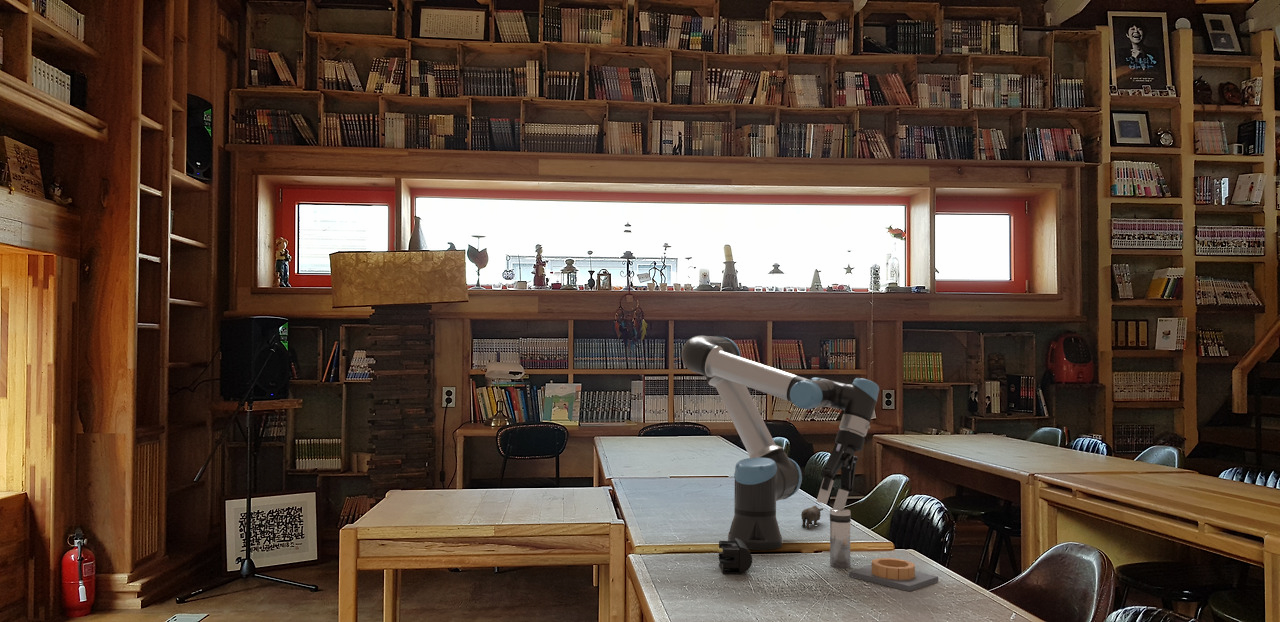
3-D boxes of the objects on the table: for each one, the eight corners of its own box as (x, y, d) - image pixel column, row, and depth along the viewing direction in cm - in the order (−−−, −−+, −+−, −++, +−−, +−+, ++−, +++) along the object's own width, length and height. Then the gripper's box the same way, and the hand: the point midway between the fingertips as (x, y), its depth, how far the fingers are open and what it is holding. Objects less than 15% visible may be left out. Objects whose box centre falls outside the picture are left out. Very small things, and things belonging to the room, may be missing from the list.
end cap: (752, 575, 194) (752, 547, 195) (723, 575, 194) (723, 547, 195) (746, 565, 204) (746, 538, 205) (718, 564, 204) (718, 537, 205)
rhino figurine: (827, 522, 259) (827, 503, 259) (811, 530, 248) (811, 510, 248) (814, 521, 261) (815, 502, 262) (798, 528, 250) (798, 508, 250)
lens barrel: (825, 565, 205) (825, 509, 206) (837, 562, 208) (837, 507, 209) (842, 569, 201) (843, 512, 202) (854, 566, 204) (854, 510, 205)
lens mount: (848, 576, 195) (848, 560, 195) (878, 567, 204) (878, 552, 204) (909, 591, 183) (909, 574, 183) (938, 581, 192) (938, 565, 192)
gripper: (852, 424, 211) (828, 502, 206) (877, 448, 230) (855, 520, 225) (825, 417, 215) (801, 493, 210) (851, 442, 235) (830, 512, 230)
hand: (829, 508), depth 218 cm, fingers open, 13 cm apart
